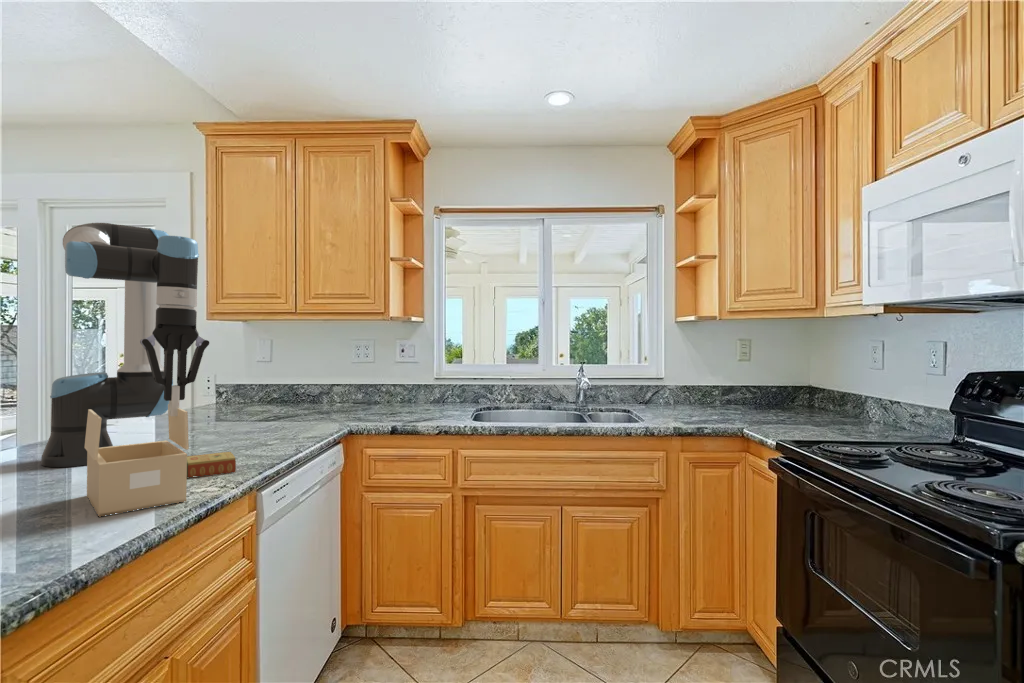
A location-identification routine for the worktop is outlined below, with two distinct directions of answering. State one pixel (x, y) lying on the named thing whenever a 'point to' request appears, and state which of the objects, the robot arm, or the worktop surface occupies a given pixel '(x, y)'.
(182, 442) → the far flap
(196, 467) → the carton
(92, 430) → the near flap
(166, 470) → the cardboard box
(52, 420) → the robot arm
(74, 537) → the worktop surface
